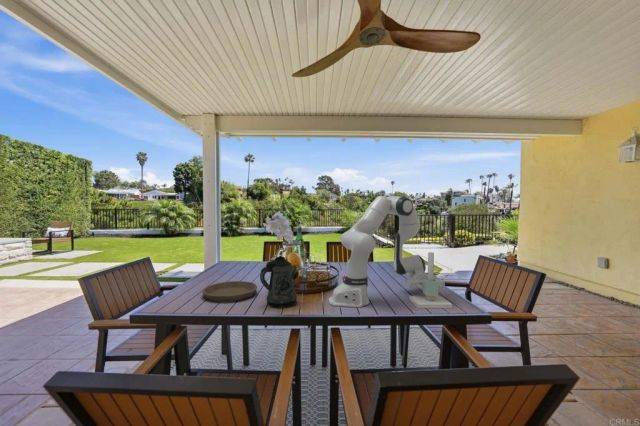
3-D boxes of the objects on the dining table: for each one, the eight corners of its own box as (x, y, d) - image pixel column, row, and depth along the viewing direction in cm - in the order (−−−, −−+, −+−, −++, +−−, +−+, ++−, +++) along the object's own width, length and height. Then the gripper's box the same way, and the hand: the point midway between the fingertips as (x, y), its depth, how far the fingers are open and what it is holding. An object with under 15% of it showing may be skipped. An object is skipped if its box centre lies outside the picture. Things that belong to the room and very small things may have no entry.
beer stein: (302, 301, 165) (302, 256, 164) (280, 312, 148) (281, 262, 148) (279, 296, 174) (279, 253, 173) (256, 306, 157) (256, 259, 156)
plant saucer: (190, 301, 165) (190, 292, 165) (221, 286, 195) (221, 279, 195) (241, 306, 158) (241, 297, 157) (265, 289, 188) (265, 282, 188)
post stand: (418, 308, 156) (419, 255, 155) (409, 299, 170) (410, 250, 169) (452, 308, 156) (453, 255, 155) (440, 299, 170) (441, 250, 169)
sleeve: (426, 295, 160) (427, 281, 159) (422, 292, 166) (422, 278, 166) (438, 295, 160) (438, 281, 160) (433, 292, 166) (433, 278, 166)
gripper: (404, 275, 175) (412, 281, 161) (438, 275, 176) (449, 281, 162) (404, 285, 176) (411, 293, 162) (438, 286, 176) (449, 293, 162)
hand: (431, 287), depth 162 cm, fingers open, 8 cm apart
